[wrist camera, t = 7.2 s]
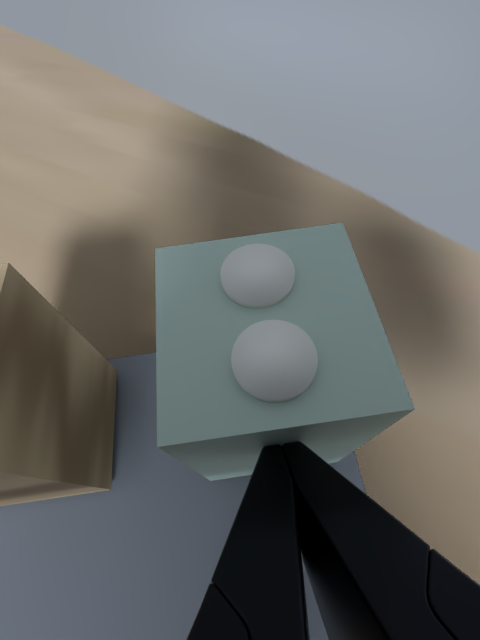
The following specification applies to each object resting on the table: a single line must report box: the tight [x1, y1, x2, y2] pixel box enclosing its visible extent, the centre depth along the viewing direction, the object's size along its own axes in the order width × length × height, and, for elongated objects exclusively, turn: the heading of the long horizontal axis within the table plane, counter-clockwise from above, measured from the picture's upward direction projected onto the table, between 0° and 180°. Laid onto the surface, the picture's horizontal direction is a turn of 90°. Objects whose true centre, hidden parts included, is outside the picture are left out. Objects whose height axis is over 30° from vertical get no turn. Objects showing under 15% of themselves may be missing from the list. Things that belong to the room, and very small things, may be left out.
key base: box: [0, 352, 366, 640], centre depth 13 cm, size 10×14×2 cm
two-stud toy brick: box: [155, 222, 415, 481], centre depth 10 cm, size 4×4×7 cm
